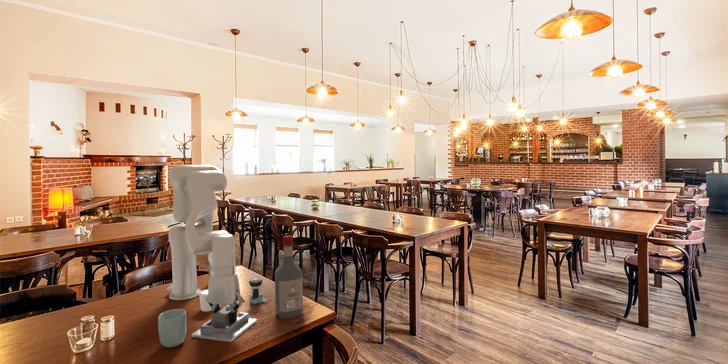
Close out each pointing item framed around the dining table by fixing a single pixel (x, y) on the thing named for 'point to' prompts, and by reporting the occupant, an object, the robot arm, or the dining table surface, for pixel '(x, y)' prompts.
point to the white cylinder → (204, 301)
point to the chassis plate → (225, 329)
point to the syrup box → (210, 263)
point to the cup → (172, 327)
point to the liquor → (288, 284)
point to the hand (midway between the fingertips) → (225, 320)
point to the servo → (222, 317)
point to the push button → (256, 291)
